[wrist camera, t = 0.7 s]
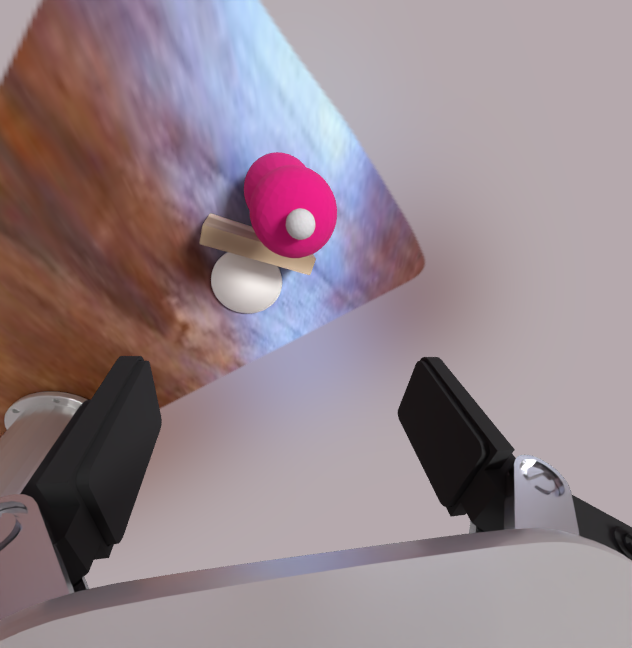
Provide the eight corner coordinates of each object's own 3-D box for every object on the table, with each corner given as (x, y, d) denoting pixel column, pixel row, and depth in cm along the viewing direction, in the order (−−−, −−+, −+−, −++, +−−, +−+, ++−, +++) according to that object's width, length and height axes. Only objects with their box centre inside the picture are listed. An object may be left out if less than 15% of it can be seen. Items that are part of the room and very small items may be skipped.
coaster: (271, 317, 42) (271, 319, 41) (205, 303, 39) (205, 305, 38) (290, 259, 38) (290, 260, 38) (219, 238, 35) (218, 239, 35)
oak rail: (302, 258, 38) (309, 275, 33) (206, 230, 34) (199, 244, 29) (307, 244, 38) (315, 258, 32) (210, 213, 34) (202, 224, 28)
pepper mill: (291, 231, 36) (326, 301, 19) (235, 203, 34) (218, 257, 17) (318, 173, 34) (386, 197, 17) (259, 138, 31) (270, 124, 14)
